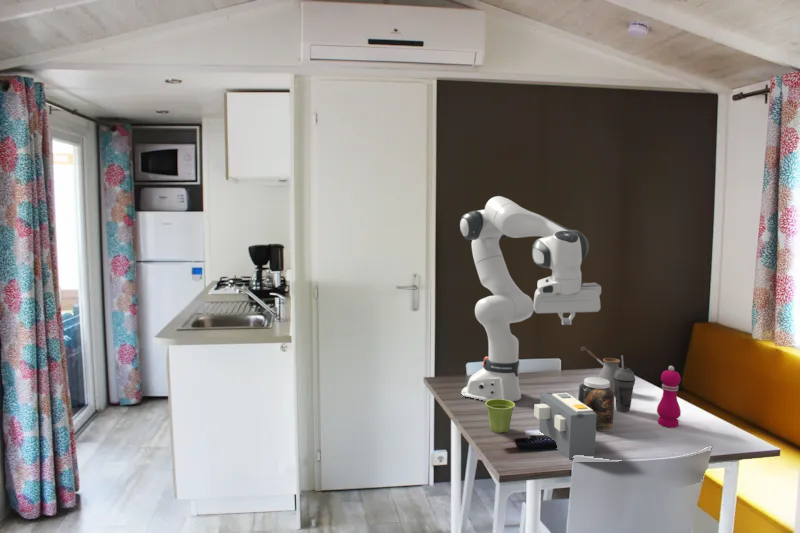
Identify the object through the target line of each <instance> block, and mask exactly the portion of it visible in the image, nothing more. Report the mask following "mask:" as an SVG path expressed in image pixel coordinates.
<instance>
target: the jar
mask: <svg viewBox="0 0 800 533" xmlns="http://www.w3.org/2000/svg"><path fill="white" fill-rule="evenodd" d="M578 386H579V387H578V395H577V396H578V397H577V400H578V401H580V402H581V403H583V404H585V405H586V406H588V407H589V408H591V409H592V410H593V412H595V413H596V414H597V416H596V432H605V431H610V430H612V429H613V428H614V420H615V419H614V416H615V415H614V414H615V398H616V397H615V394H614V388H613V387H612V386H610V381H609V380H607V379H604V378H599V377H597V376H589V377H585V378H584V380H583V383H580V385H578Z"/></svg>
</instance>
